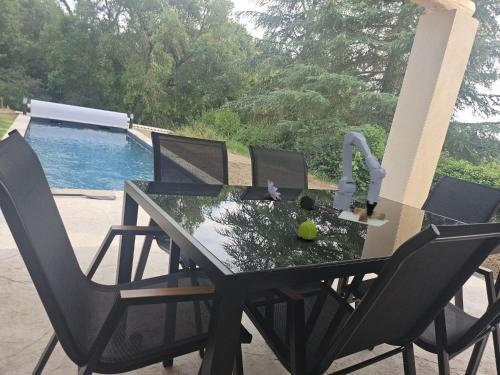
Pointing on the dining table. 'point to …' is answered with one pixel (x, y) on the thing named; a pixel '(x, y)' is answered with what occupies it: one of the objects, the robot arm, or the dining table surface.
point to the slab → (353, 217)
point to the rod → (374, 215)
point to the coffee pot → (311, 204)
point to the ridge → (363, 217)
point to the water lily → (272, 191)
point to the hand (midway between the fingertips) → (369, 215)
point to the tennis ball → (307, 230)
